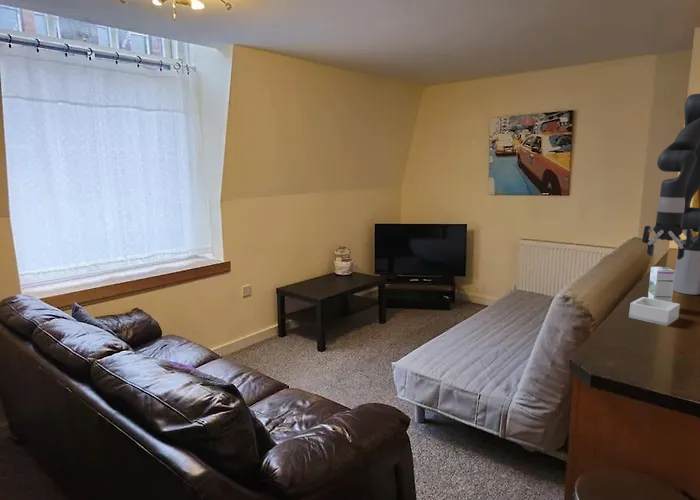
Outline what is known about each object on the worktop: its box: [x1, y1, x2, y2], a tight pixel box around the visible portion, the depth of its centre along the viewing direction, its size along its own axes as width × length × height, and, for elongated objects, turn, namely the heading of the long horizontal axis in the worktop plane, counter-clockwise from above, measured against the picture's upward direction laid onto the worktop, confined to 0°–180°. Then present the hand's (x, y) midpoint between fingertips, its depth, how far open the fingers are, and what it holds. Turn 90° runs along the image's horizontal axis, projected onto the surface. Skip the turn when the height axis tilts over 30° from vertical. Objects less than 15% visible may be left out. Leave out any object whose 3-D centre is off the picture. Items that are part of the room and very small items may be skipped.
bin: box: [628, 296, 681, 327], centre depth 154 cm, size 11×11×5 cm
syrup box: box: [647, 266, 675, 303], centre depth 164 cm, size 6×6×14 cm
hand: (664, 257), depth 162 cm, fingers open, 8 cm apart
